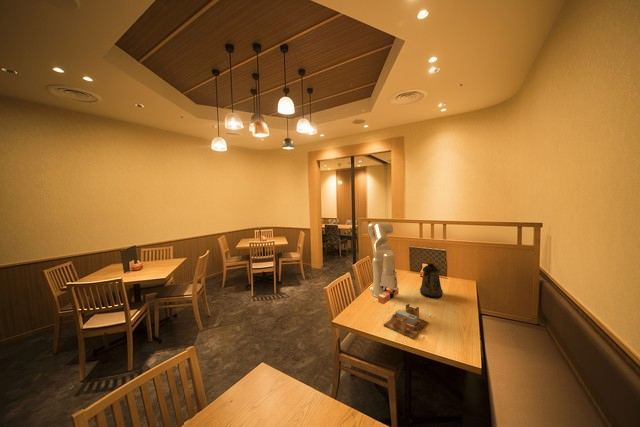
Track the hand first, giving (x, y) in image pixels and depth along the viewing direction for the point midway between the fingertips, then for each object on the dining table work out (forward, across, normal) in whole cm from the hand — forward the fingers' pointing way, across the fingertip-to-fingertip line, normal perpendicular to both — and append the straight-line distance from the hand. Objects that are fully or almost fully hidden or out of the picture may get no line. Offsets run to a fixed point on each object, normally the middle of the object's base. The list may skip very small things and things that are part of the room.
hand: (388, 296), depth 152 cm
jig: (+10, -16, +7) cm, 20 cm away
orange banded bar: (+1, 0, 0) cm, 1 cm away
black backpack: (+12, -11, -47) cm, 50 cm away
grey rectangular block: (+9, -16, +7) cm, 20 cm away
